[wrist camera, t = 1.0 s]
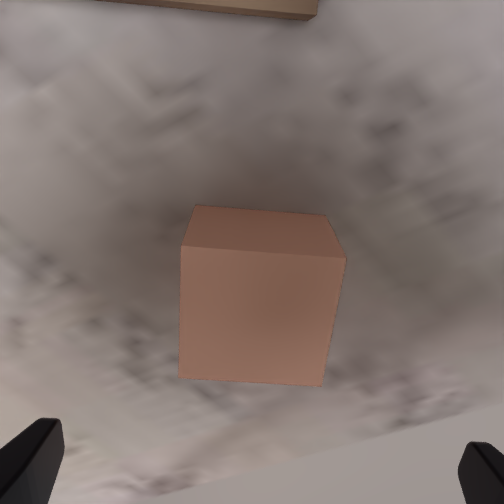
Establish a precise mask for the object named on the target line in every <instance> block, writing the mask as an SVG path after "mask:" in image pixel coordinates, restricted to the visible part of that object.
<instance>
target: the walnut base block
mask: <svg viewBox="0 0 504 504" xmlns="http://www.w3.org/2000/svg"><path fill="white" fill-rule="evenodd" d="M96 1H106V2H117V3H127V4H138V5H148V6H159V7H169V8H180V9H191V10H201V11H212V12H222V13H233V14H243V15H254V16H264V17H275V18H285V19H296V20H307V21H308V20H310V19H311V18H313V17H314V16H316V15H317V8H318V0H96Z"/></svg>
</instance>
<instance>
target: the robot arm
mask: <svg viewBox="0 0 504 504" xmlns="http://www.w3.org/2000/svg"><path fill="white" fill-rule="evenodd" d="M64 448H65V446H64V438H63V431H62V424H61V421H60V420H59V419H57V418H40V419H38V420H36V421H35V422H34V423H32V424H31V425H30V426H29V427H27V428H26V429H25V430H24V431H22V432H21V433H20V434H19V435H17V436H16V437H15V438H14V439H12V440H11V441H10V442H8V443H7V444H6V445H5V446H3V447H2V448H1V449H0V504H48V501H49V498H50V495H51V492H52V489H53V486H54V483H55V480H56V477H57V474H58V471H59V468H60V465H61V462H62V459H63V455H64ZM458 477H459V481H460V484H461V488H462V491H463V494H464V497H465V501H466V504H504V455H503V454H502V453H501V452H499V451H498V450H497V449H496V448H495V447H493V446H492V445H491V444H489V443H486V442H469V443H468V444H467V446H466V448H465V451H464V453H463V456H462V458H461V461H460V463H459V466H458Z"/></svg>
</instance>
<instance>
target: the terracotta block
mask: <svg viewBox="0 0 504 504" xmlns="http://www.w3.org/2000/svg"><path fill="white" fill-rule="evenodd" d="M346 261H347V258H346V256H345V254H344V252H343V250H342V248H341V246H340V244H339V241H338V239H337V237H336V235H335V233H334V231H333V229H332V227H331V225H330V223H329V221H328V219H327V217H326V215H314V214H302V213H289V212H277V211H264V210H252V209H239V208H227V207H214V206H202V205H195V207H194V210H193V213H192V216H191V219H190V222H189V224H188V227H187V230H186V233H185V236H184V239H183V242H182V244H181V267H180V319H179V371H178V378H185V379H202V380H218V381H235V382H251V383H267V384H284V385H300V386H317V387H322V382H323V377H324V371H325V366H326V361H327V356H328V351H329V346H330V341H331V336H332V331H333V326H334V321H335V316H336V311H337V306H338V301H339V296H340V291H341V286H342V281H343V276H344V271H345V266H346Z"/></svg>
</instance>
